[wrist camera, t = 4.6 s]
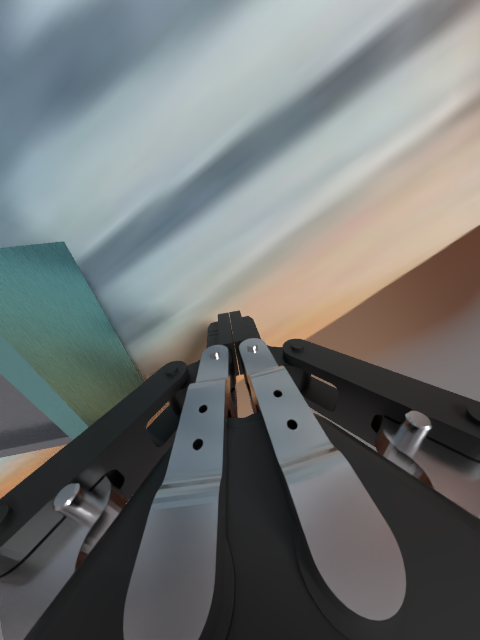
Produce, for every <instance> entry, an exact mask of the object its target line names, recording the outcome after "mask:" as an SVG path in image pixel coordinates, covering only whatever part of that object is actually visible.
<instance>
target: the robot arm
mask: <svg viewBox="0 0 480 640" xmlns="http://www.w3.org/2000/svg"><path fill="white" fill-rule="evenodd" d="M229 314H230V318H229ZM230 320H231V323H230ZM231 326H232V328H231ZM232 332H233V334H232ZM234 344H235V345H234ZM235 350H236V352H235ZM236 355H237V358H236ZM237 360H238V364H237ZM238 365H239V370H240V375H242V374H244V378H245V384H246V388H247V392H248V395H249V398H250V402H251V406H252V409H253V412H254V414H252V415H250V416H248V417H246V418H238V413H237V388H236V376H237V375H239V371H238ZM311 374H313V375H315V376H317V377H319V378H321V379H323V380H325V381H327V382H330V383H332V384H333V385H334V386H335V387H336V388H337V389H336V388H334V387H332V386H329V385H328V384H326V383H324V382H321V381H319V380H317V379H315V378H313V377H311ZM168 401H169V403H170V405H169V406H168V407H167V408H166V409H165V410H164V411H163V412H162V413H161V414H160V415H159V416H158V417H157V418H156V419H155V420H154V421H153V422H152V424H151V425H150V426H149V427H148V428H147V429H145V428H146V425H147V423H148V421H149V420H150V419H151V418H152V417H153V416H154V415H155V414H156V413H157V412H158V411H159V410H160V409H161V408H162V407H163V406H164V405H165V404H166V403H167V402H168ZM309 407H310V408H312V409H314V410H315V411H317V412H318V413H320V414H322V415H323V416H325V417H327V418H328V419H330V420H332V421H333V422H335V423H337V424H338V425H340V426H342V427H343V428H345V429H346V430H348V431H350V432H351V433H353V434H355V435H356V436H358V437H360V438H361V439H363V440H365V441H366V442H368V443H370V444H371V445H373V446H374V447H376V450H377V452H376V451H374V450H373V449H372V448H370V447H368V446H367V445H365V444H364V443H362V442H361V441H359V440H358V439H356V438H355V437H353V436H352V435H350V434H348V433H347V432H345V431H344V430H342V429H341V428H339V427H338V426H336V425H335V424H333V423H332V422H330V421H328V420H327V419H325V418H323V417H321V416H319V415H317V414H314V413H312V411H311V410H310V408H309ZM136 490H137V491H136ZM129 499H130V500H129ZM126 503H127V504H126ZM0 623H1V629H2V635H3V640H480V402H478V401H475V400H472V399H470V398H467V397H464V396H461V395H458V394H456V393H453V392H450V391H447V390H444V389H441V388H439V387H436V386H433V385H430V384H427V383H424V382H421V381H419V380H416V379H413V378H410V377H407V376H404V375H402V374H399V373H396V372H393V371H390V370H387V369H384V368H382V367H379V366H376V365H373V364H370V363H368V362H365V361H362V360H359V359H356V358H353V357H350V356H348V355H345V354H342V353H339V352H336V351H334V350H330V349H328V348H325V347H322V346H319V345H316V344H314V343H311V342H308V341H305V340H302V339H291V340H288V341H286V342H285V343H284V344H283V347H271V346H268V345H266V343H265V342H264V341H263V340H261V338H260V335H259V333H258V330H257V328H256V325H255V323H254V320H253V319H252V318H251V317H249V316H246V317H241V313H240V311H234V312H229V313H223V314H218V322H213V323H211V324H210V325H209V327H208V337H207V349H205V350H204V351H203V353H202V356H201V359H200V360H199V361H197V362H195V363H193V364H191V365H188V366H187V365H186V363H184V362H182V361H174V362H170V363H168V364H166V365H165V366H163V367H162V368H161V369H159V370H158V371H157V372H156V373H155V374H153V375H152V376H151V377H150V378H148V379H147V380H146V381H145V382H144V383H142V384H141V385H140V386H139V387H137V388H136V389H135V390H134V391H132V392H131V393H130V394H129V395H128V396H126V397H125V398H124V399H123V400H121V401H120V402H119V403H118V404H117V405H115V406H114V407H113V408H112V409H110V410H109V411H108V412H107V413H105V414H104V415H103V416H102V417H101V418H99V419H98V420H97V421H96V422H94V423H93V424H92V425H91V426H89V427H88V428H87V429H86V430H85V431H83V432H82V433H81V434H80V435H78V436H77V437H76V438H75V439H74V440H72V441H71V442H70V443H69V444H67V445H66V446H65V447H64V448H62V449H61V450H60V451H59V452H58V453H56V454H55V455H54V456H53V457H51V458H50V459H49V460H48V461H47V462H45V463H44V464H43V465H42V466H40V467H39V468H38V469H37V470H35V471H34V472H33V473H32V474H31V475H29V476H28V477H27V478H26V479H24V480H23V481H22V482H21V483H19V484H18V485H17V486H16V487H15V488H13V489H12V490H11V491H10V492H8V493H7V494H6V495H5V496H4V497H2V498H1V499H0Z"/></svg>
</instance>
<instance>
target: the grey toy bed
mask: <svg viewBox="0 0 480 640" xmlns="http://www.w3.org/2000/svg"><path fill="white" fill-rule="evenodd" d="M142 383H144V382H143V380H142V378H141V377H140V375H139V373H138V371H137V370H136V368H135V366H134V364H133V362H132V361H131V359H130V357H129V355H128V354H127V352H126V350H125V348H124V347H123V345H122V343H121V341H120V340H119V338H118V336H117V334H116V333H115V331H114V329H113V327H112V325H111V324H110V322H109V320H108V318H107V317H106V315H105V313H104V311H103V310H102V308H101V306H100V304H99V303H98V301H97V299H96V297H95V296H94V294H93V292H92V290H91V288H90V287H89V285H88V283H87V281H86V280H85V278H84V276H83V274H82V273H81V271H80V269H79V267H78V266H77V264H76V262H75V260H74V259H73V257H72V255H71V253H70V251H69V250H68V248H67V246H66V244H65V243H64V242H55V243H45V244H36V245H26V246H16V247H7V248H0V458H1V457H6V456H11V455H16V454H21V453H26V452H31V451H36V450H41V449H46V448H50V447H55V446H60V445H65V444H69V443H70V442H71V441H72V440H74V439H75V438H76V437H77V436H78V435H80V434H81V433H82V432H83V431H85V430H86V429H87V428H88V427H89V426H91V425H92V424H93V423H94V422H96V421H97V420H98V419H99V418H101V417H102V416H103V415H104V414H105V413H107V412H108V411H109V410H110V409H112V408H113V407H114V406H115V405H117V404H118V403H119V402H120V401H121V400H123V399H124V398H125V397H126V396H128V395H129V394H130V393H131V392H132V391H134V390H135V389H136V388H137V387H139V386H140V385H141V384H142ZM147 424H148V423H147ZM146 426H147V425H146ZM145 429H146V428H145Z"/></svg>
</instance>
